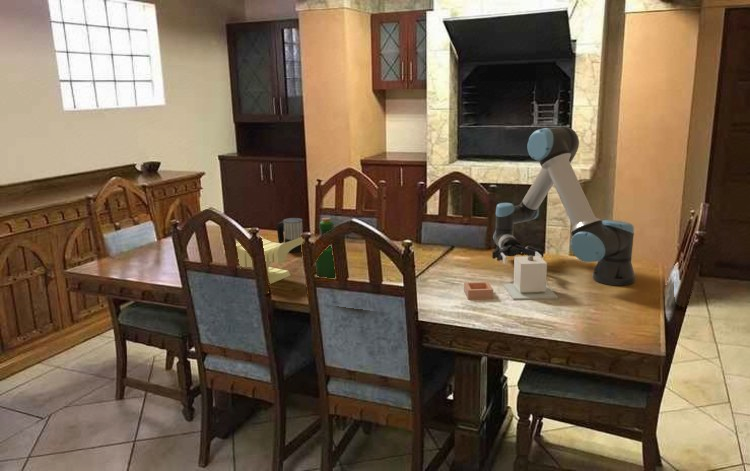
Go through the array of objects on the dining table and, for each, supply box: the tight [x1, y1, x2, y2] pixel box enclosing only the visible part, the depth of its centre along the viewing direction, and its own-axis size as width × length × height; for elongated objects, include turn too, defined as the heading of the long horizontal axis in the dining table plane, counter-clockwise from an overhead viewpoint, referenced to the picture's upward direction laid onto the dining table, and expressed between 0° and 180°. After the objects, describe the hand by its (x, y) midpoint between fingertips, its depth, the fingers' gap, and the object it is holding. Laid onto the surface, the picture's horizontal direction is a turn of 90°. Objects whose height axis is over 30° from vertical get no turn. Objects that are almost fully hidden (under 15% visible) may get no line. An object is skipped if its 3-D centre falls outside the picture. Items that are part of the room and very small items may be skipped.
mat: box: [502, 282, 559, 301], centre depth 223 cm, size 16×16×1 cm
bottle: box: [314, 217, 335, 278], centre depth 227 cm, size 11×11×28 cm
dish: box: [463, 281, 494, 301], centre depth 220 cm, size 9×9×4 cm
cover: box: [513, 255, 548, 293], centre depth 221 cm, size 9×9×13 cm
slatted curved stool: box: [221, 227, 303, 285], centre depth 244 cm, size 30×16×18 cm, turn 56°
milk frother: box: [276, 217, 303, 253], centre depth 283 cm, size 14×16×15 cm
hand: (523, 260), depth 230 cm, fingers open, 13 cm apart
